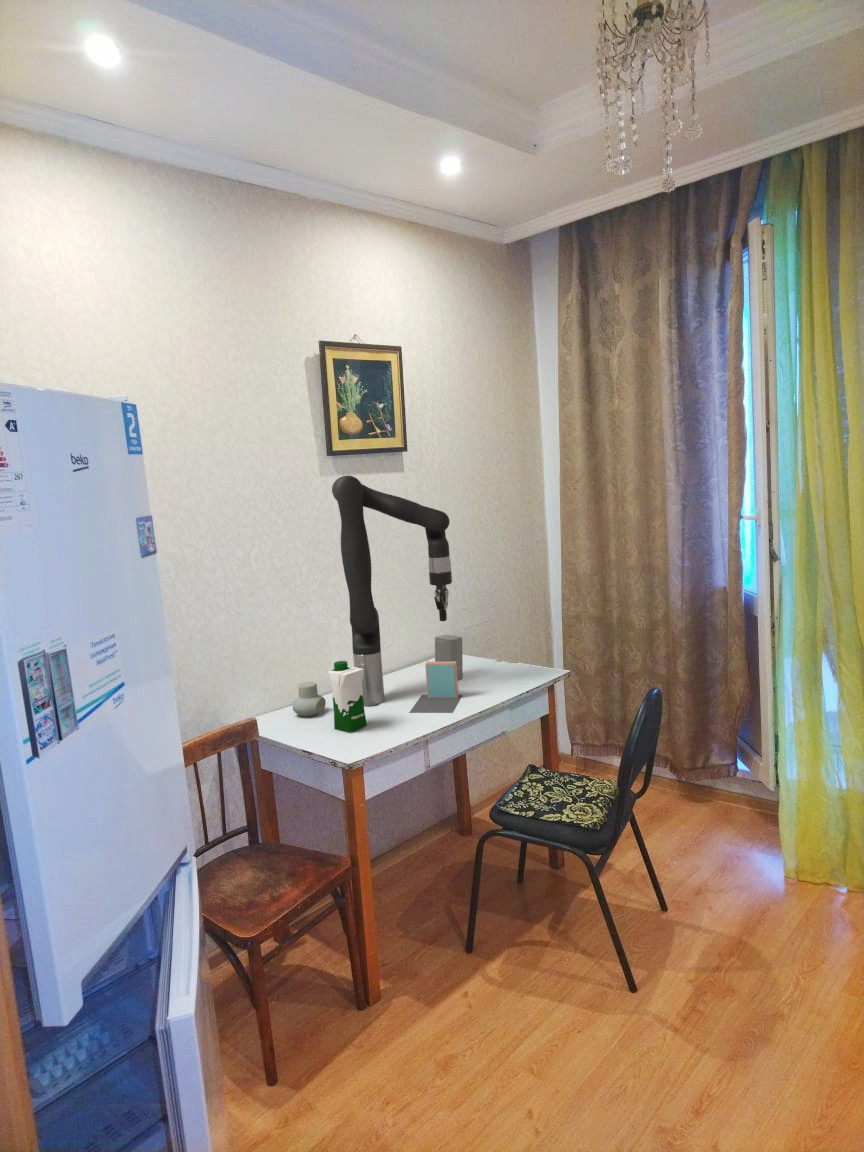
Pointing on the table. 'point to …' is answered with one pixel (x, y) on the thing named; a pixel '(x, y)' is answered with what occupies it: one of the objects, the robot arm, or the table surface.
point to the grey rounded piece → (308, 700)
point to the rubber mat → (435, 705)
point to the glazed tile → (442, 680)
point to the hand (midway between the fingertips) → (443, 620)
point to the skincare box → (449, 651)
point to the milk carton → (347, 697)
